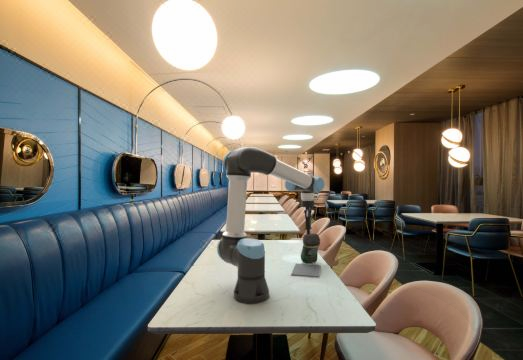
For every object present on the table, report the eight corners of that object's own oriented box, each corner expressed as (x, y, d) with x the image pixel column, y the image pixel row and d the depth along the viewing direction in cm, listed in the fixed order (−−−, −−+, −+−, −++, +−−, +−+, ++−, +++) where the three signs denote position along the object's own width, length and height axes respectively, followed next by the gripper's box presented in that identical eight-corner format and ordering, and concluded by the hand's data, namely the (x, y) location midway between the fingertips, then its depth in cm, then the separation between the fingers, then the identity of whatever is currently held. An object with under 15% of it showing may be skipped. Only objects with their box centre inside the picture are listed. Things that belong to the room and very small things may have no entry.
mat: (318, 277, 134) (318, 276, 134) (291, 275, 138) (291, 274, 138) (320, 266, 152) (320, 265, 152) (295, 264, 155) (295, 263, 155)
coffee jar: (302, 265, 155) (305, 243, 145) (299, 254, 162) (301, 232, 151) (318, 263, 156) (322, 241, 146) (314, 252, 163) (318, 230, 152)
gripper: (313, 201, 149) (314, 243, 150) (314, 199, 162) (315, 237, 162) (300, 201, 151) (301, 242, 151) (302, 199, 164) (303, 237, 164)
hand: (308, 240), depth 157 cm, fingers closed
